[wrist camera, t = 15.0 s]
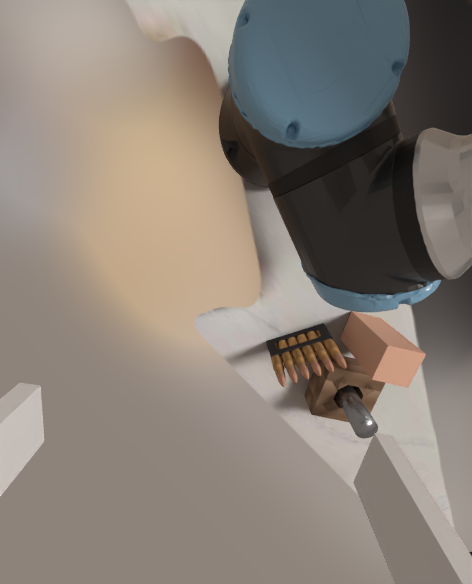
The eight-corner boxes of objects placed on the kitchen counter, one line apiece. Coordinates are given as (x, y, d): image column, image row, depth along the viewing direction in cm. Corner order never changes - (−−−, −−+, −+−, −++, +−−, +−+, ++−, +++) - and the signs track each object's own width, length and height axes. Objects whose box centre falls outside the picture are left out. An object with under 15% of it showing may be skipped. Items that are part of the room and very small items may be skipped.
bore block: (322, 351, 50) (331, 367, 46) (372, 362, 51) (387, 379, 46) (304, 395, 53) (311, 414, 49) (352, 405, 54) (364, 425, 49)
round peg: (332, 370, 52) (360, 418, 40) (349, 373, 52) (381, 422, 41) (325, 385, 53) (351, 435, 41) (342, 388, 53) (372, 440, 42)
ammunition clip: (268, 349, 50) (279, 393, 39) (265, 341, 50) (275, 383, 38) (326, 332, 49) (353, 371, 38) (323, 323, 49) (351, 360, 37)
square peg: (351, 311, 48) (388, 345, 37) (380, 318, 48) (426, 354, 37) (340, 338, 50) (371, 379, 38) (368, 345, 50) (408, 387, 39)
